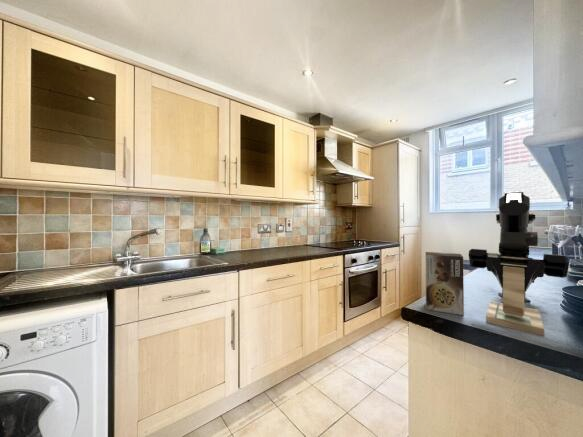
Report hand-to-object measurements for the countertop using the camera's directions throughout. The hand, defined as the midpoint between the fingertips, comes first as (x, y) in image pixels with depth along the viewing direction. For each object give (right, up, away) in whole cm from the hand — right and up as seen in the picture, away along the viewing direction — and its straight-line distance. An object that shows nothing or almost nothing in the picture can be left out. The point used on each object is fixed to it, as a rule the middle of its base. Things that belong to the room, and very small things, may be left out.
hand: (513, 288), depth 58 cm
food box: (-11, -9, +10) cm, 17 cm away
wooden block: (+1, -6, +1) cm, 6 cm away
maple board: (+4, -9, +4) cm, 10 cm away
